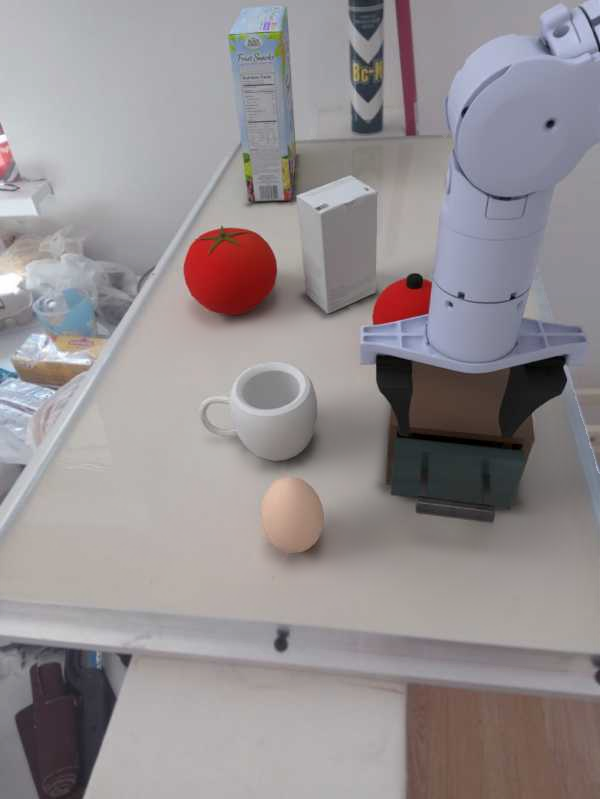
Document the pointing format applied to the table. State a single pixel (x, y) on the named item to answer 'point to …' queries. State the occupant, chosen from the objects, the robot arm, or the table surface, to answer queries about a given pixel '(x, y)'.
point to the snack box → (264, 101)
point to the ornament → (403, 300)
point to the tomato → (230, 270)
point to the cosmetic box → (339, 242)
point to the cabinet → (458, 408)
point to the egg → (292, 515)
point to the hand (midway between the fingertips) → (453, 427)
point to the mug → (269, 410)
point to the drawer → (456, 475)
